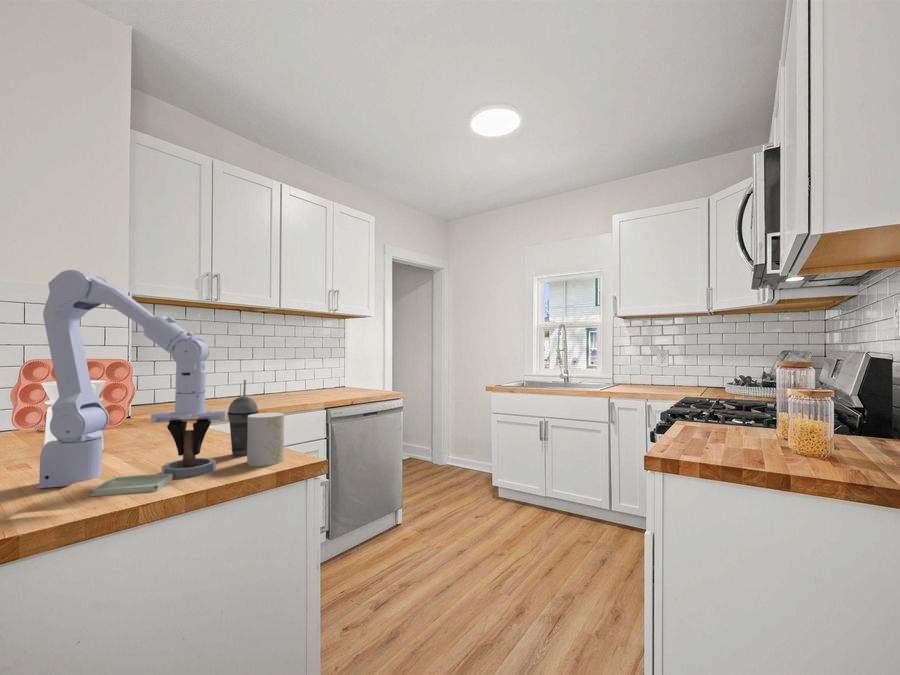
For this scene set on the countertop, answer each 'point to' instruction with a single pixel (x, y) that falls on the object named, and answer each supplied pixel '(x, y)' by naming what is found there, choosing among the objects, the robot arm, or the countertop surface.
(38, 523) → the countertop surface
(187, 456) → the dowel
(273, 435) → the cup
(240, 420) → the beverage cup
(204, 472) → the ramekin
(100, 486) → the tray
